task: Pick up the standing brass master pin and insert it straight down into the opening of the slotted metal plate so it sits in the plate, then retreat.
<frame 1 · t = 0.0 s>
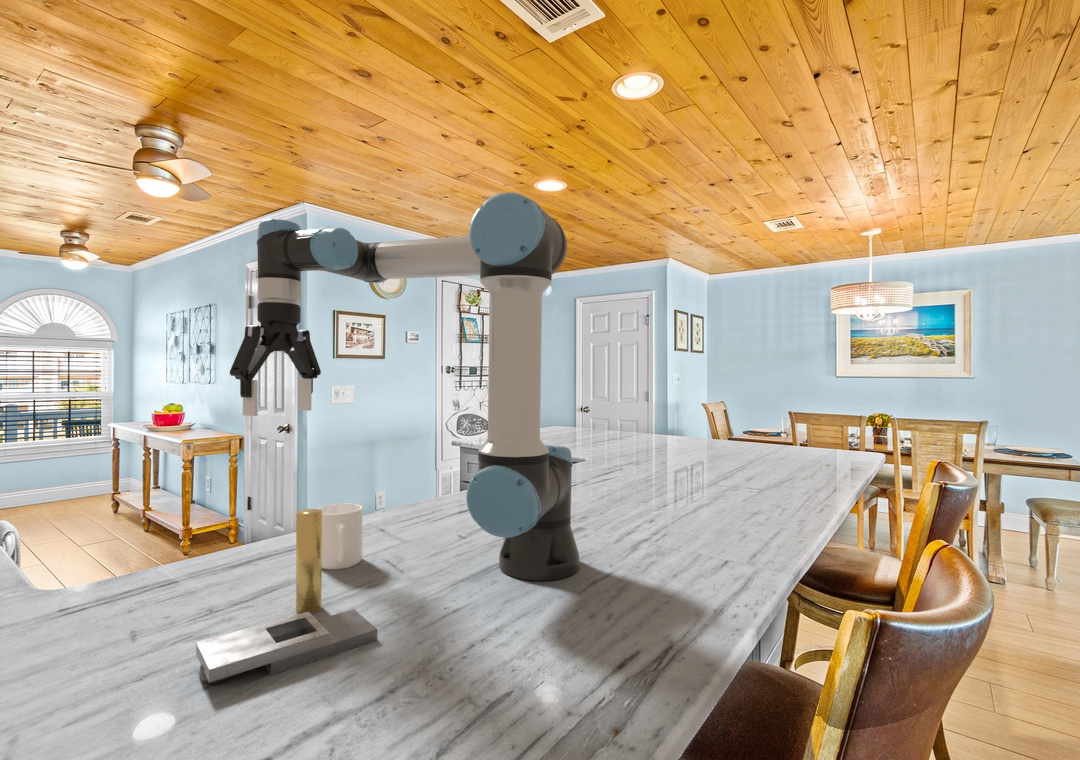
hand: (279, 413, 107), 28 cm above the kitchen island countertop, fingers open, 13 cm apart
master pin: (308, 609, 84), on the kitchen island countertop
slotted metal plate: (291, 652, 72), on the kitchen island countertop
mug: (340, 566, 103), on the kitchen island countertop
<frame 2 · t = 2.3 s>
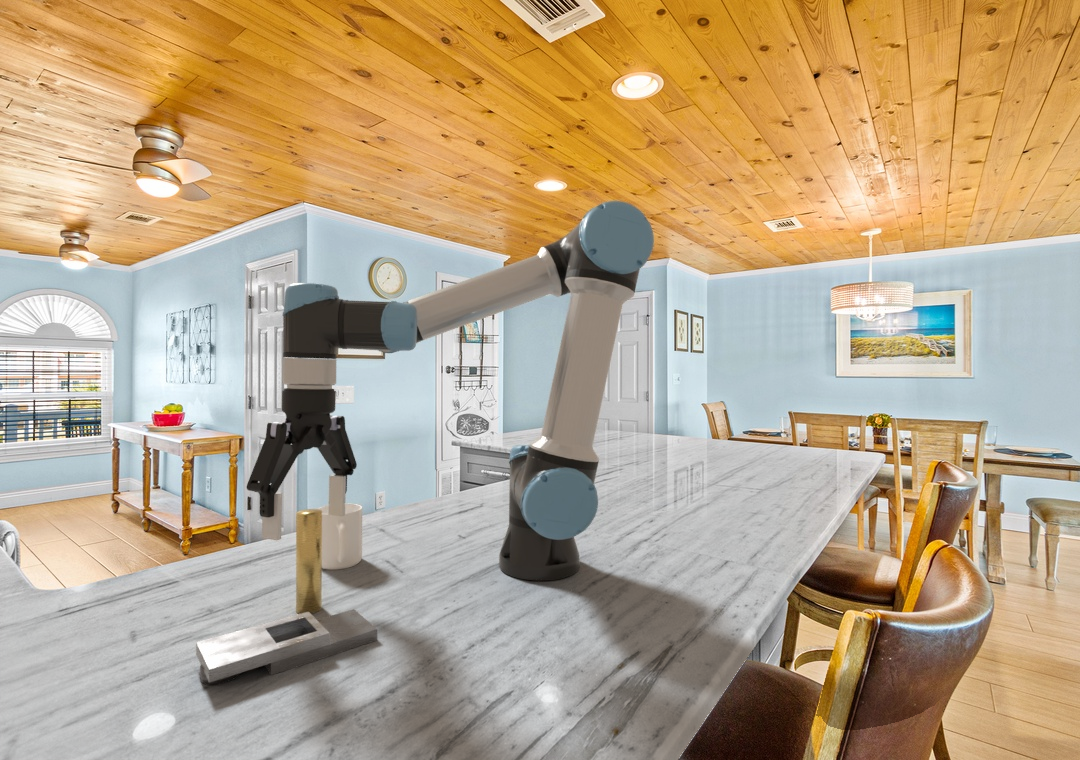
hand: (306, 526, 84), 13 cm above the kitchen island countertop, fingers open, 13 cm apart
nothing on the kitchen island countertop moved.
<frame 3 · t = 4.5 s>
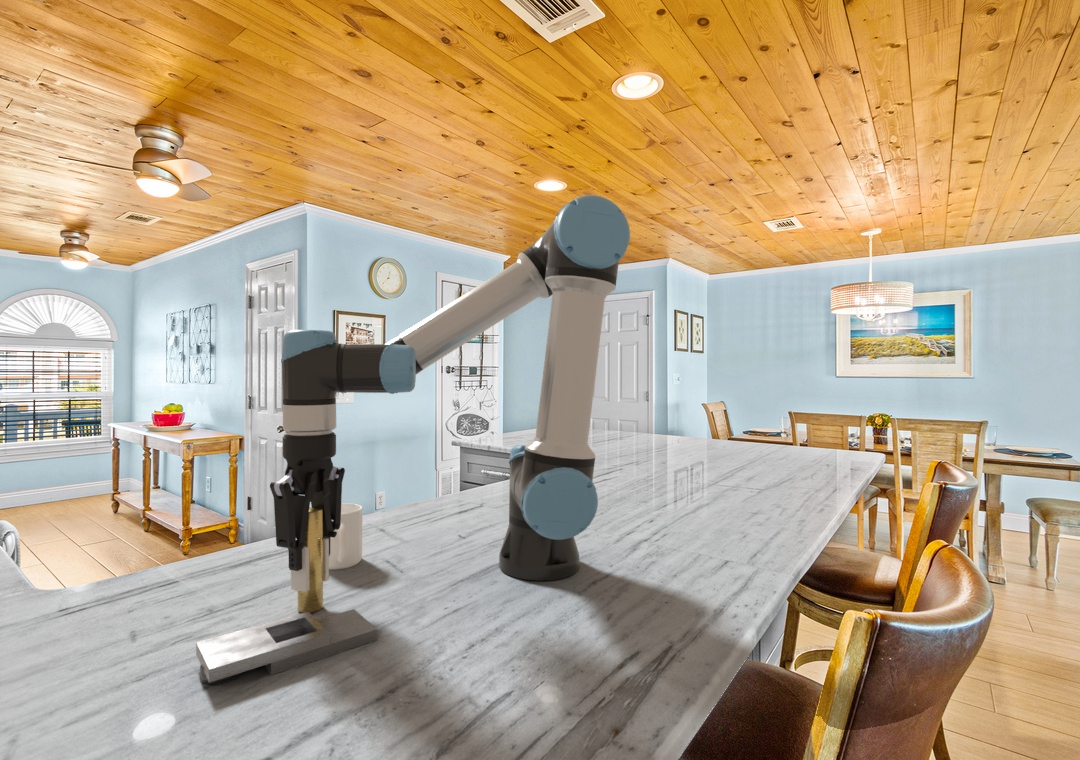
hand: (310, 584, 84), 4 cm above the kitchen island countertop, fingers closed on master pin, 4 cm apart
master pin: (310, 607, 84), on the kitchen island countertop, touching gripper
everything else where it was.
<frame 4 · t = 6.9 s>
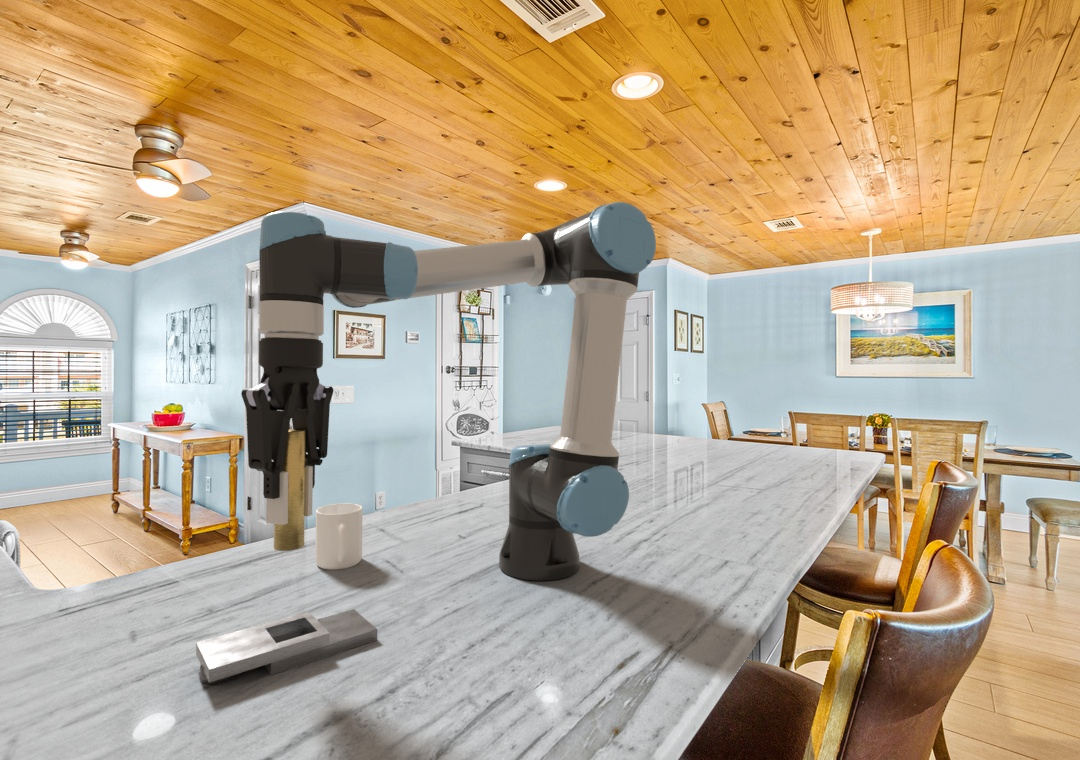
hand: (289, 518, 71), 18 cm above the kitchen island countertop, fingers closed on master pin, 4 cm apart
master pin: (289, 546, 71), point 14 cm above the kitchen island countertop, touching gripper
everything else where it was.
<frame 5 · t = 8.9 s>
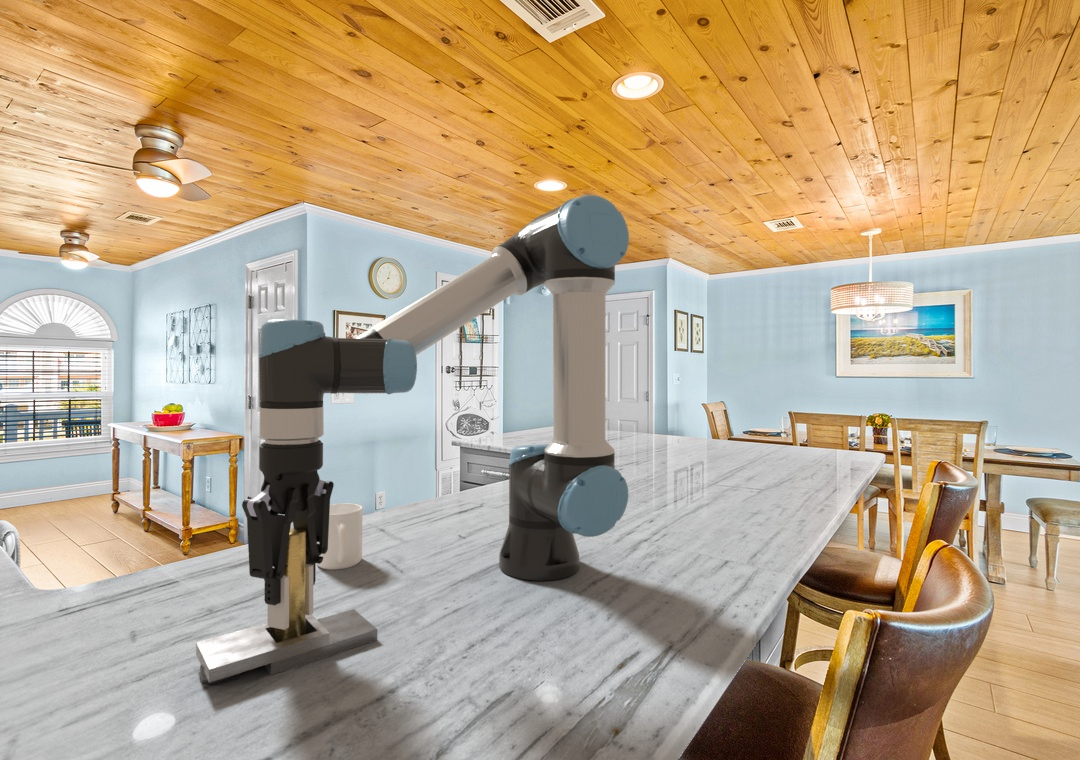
hand: (291, 619, 72), 4 cm above the kitchen island countertop, fingers closed on master pin, 4 cm apart
master pin: (290, 646, 72), point 1 cm above the kitchen island countertop, touching gripper
everything else where it was.
when the fingers open (4 cm above the kitchen island countertop, at t = 9.8 s): master pin stays where it is, resting in slotted metal plate.
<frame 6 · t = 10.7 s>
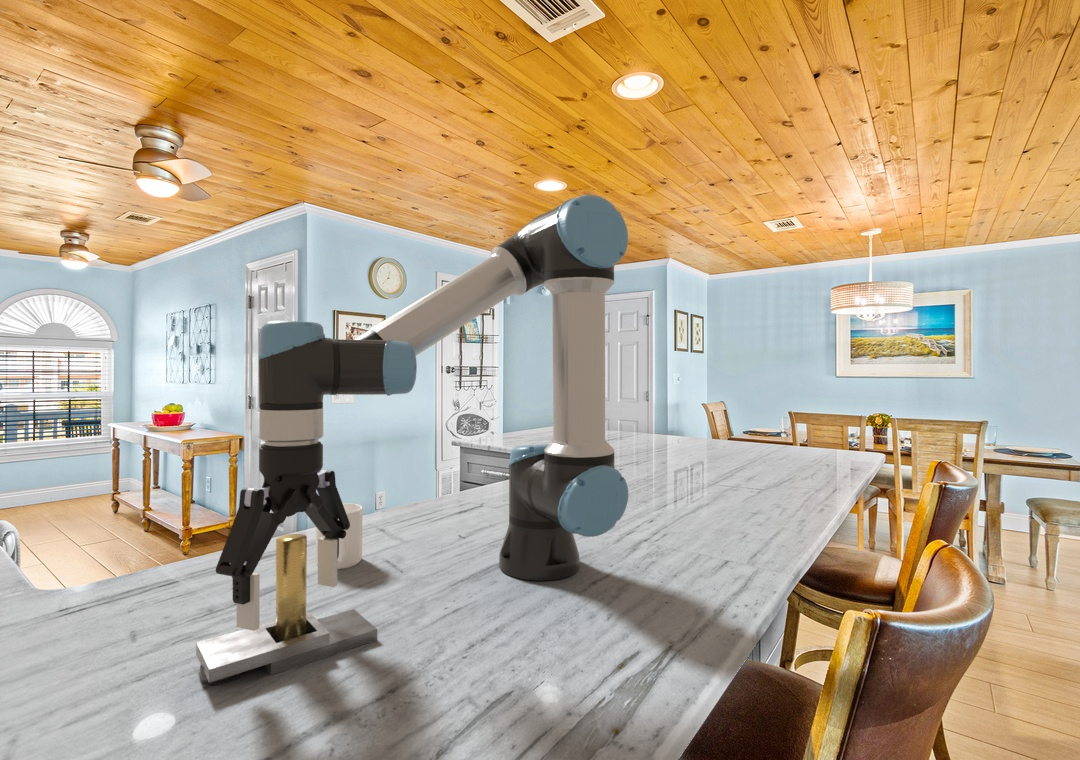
hand: (291, 604, 72), 6 cm above the kitchen island countertop, fingers open, 13 cm apart
master pin: (291, 652, 72), resting in slotted metal plate
everything else where it was.
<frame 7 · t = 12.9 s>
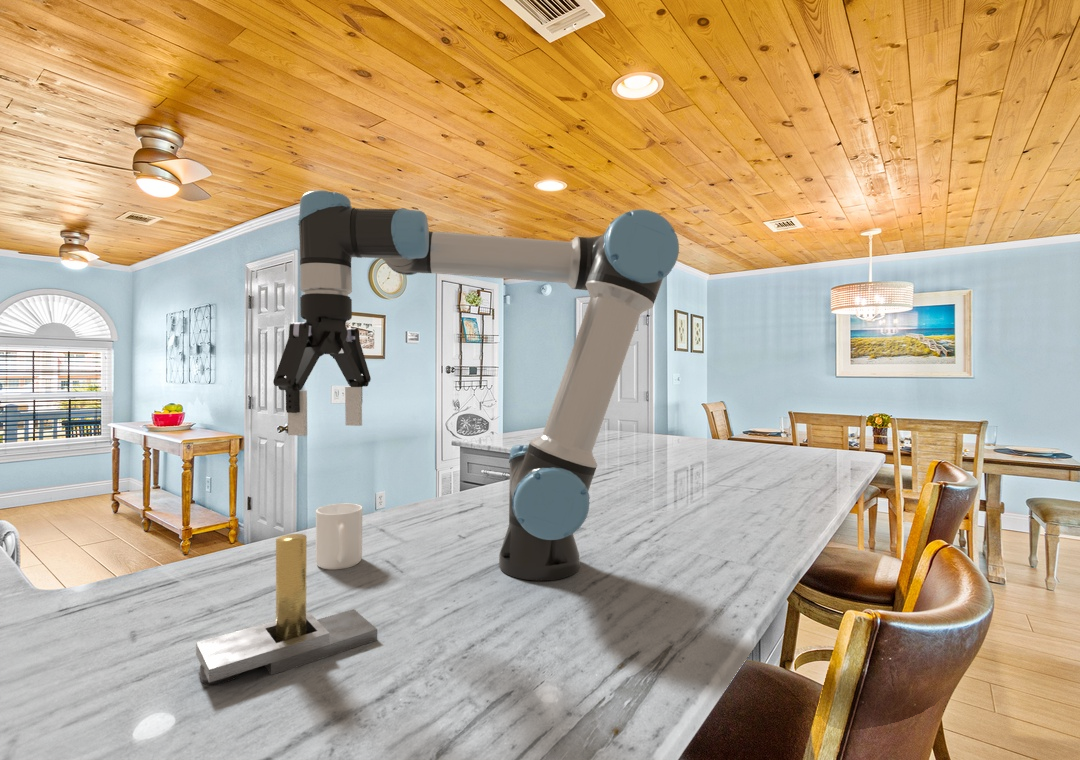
hand: (327, 430, 87), 27 cm above the kitchen island countertop, fingers open, 13 cm apart
nothing on the kitchen island countertop moved.
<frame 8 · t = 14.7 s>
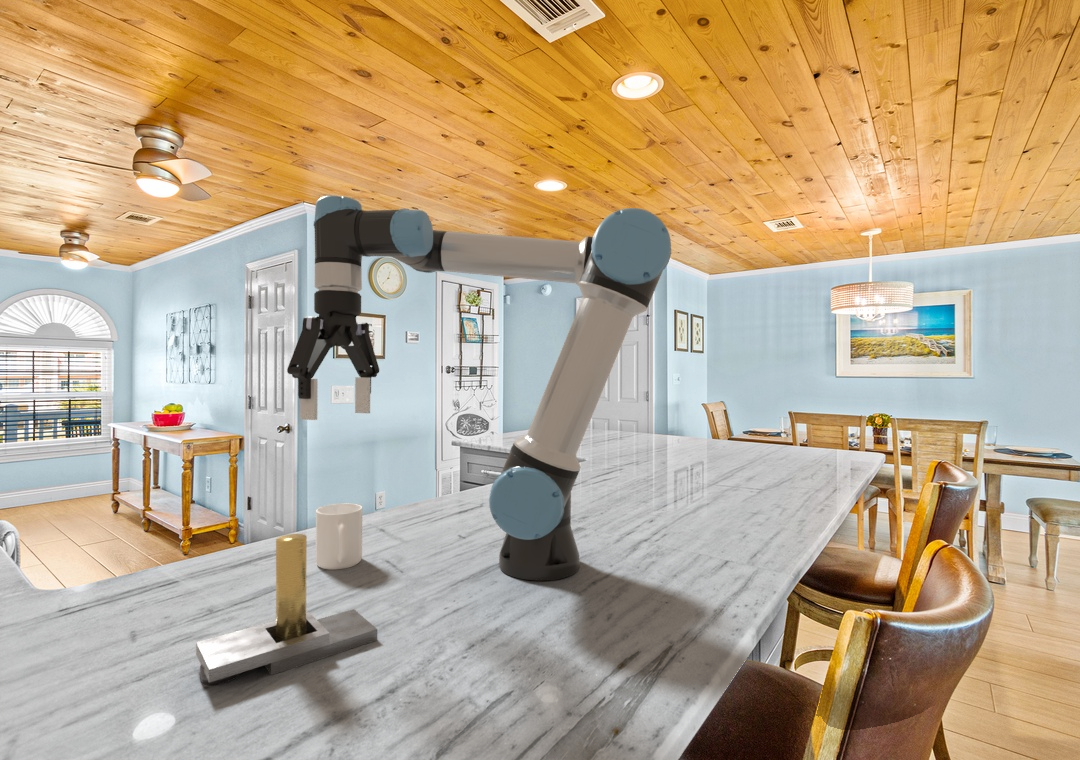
hand: (337, 416, 94), 29 cm above the kitchen island countertop, fingers open, 13 cm apart
nothing on the kitchen island countertop moved.
at the end: master pin 0.1 cm off-centre on the slotted metal plate, point 0.0 cm above the slotted metal plate's base; master pin tilted 0°; the gripper is holding nothing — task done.
